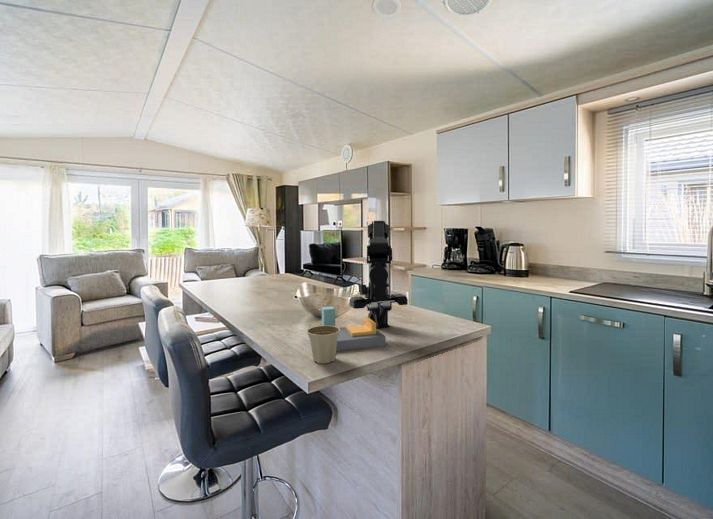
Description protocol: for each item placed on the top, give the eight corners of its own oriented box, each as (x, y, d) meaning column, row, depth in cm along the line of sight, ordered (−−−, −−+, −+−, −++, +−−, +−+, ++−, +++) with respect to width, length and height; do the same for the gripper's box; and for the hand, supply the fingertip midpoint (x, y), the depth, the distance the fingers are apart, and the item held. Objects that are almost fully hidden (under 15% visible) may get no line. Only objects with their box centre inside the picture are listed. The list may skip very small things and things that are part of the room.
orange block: (368, 327, 124) (368, 317, 124) (376, 333, 116) (376, 323, 116) (345, 329, 122) (345, 319, 121) (352, 336, 114) (352, 325, 114)
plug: (332, 330, 131) (332, 306, 130) (335, 334, 127) (335, 308, 126) (321, 332, 130) (321, 307, 129) (324, 335, 126) (323, 309, 125)
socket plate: (370, 333, 128) (370, 324, 128) (385, 345, 114) (385, 336, 114) (314, 338, 122) (314, 329, 122) (323, 352, 109) (322, 342, 108)
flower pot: (312, 368, 96) (312, 336, 96) (303, 356, 105) (302, 327, 104) (345, 362, 100) (345, 332, 99) (333, 352, 109) (333, 323, 108)
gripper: (394, 275, 130) (394, 318, 131) (344, 278, 124) (345, 322, 126) (408, 279, 119) (408, 326, 121) (354, 282, 114) (354, 331, 115)
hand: (378, 326), depth 121 cm, fingers closed
